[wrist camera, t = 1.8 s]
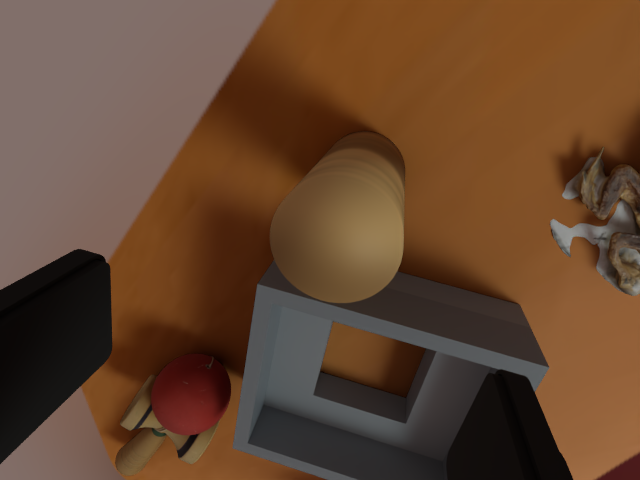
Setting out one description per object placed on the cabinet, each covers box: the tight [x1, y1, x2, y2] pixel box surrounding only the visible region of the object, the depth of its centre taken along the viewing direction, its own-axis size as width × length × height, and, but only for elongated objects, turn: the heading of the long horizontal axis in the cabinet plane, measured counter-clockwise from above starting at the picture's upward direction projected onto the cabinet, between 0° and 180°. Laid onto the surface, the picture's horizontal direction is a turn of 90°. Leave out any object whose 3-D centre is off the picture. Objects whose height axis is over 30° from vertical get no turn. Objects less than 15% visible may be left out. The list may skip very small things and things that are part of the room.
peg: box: [270, 131, 405, 303], centre depth 20 cm, size 5×5×11 cm
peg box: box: [233, 260, 549, 480], centre depth 27 cm, size 14×16×6 cm
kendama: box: [115, 354, 231, 476], centre depth 34 cm, size 8×6×18 cm
